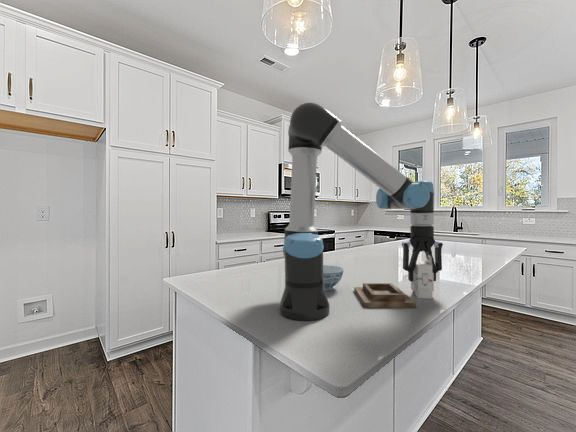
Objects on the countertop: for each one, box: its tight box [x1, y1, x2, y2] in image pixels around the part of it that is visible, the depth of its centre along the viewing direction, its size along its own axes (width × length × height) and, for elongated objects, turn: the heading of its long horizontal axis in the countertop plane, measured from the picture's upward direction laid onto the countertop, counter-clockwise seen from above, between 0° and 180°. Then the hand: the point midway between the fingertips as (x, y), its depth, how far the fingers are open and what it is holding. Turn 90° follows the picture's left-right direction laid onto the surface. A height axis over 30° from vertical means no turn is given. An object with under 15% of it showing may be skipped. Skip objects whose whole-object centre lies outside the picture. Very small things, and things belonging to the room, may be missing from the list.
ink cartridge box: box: [412, 252, 434, 300], centre depth 103 cm, size 9×5×15 cm, turn 169°
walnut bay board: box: [353, 282, 417, 309], centre depth 100 cm, size 16×18×4 cm
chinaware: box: [323, 264, 345, 292], centre depth 114 cm, size 15×15×8 cm
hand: (422, 290), depth 103 cm, fingers closed on ink cartridge box, 5 cm apart
